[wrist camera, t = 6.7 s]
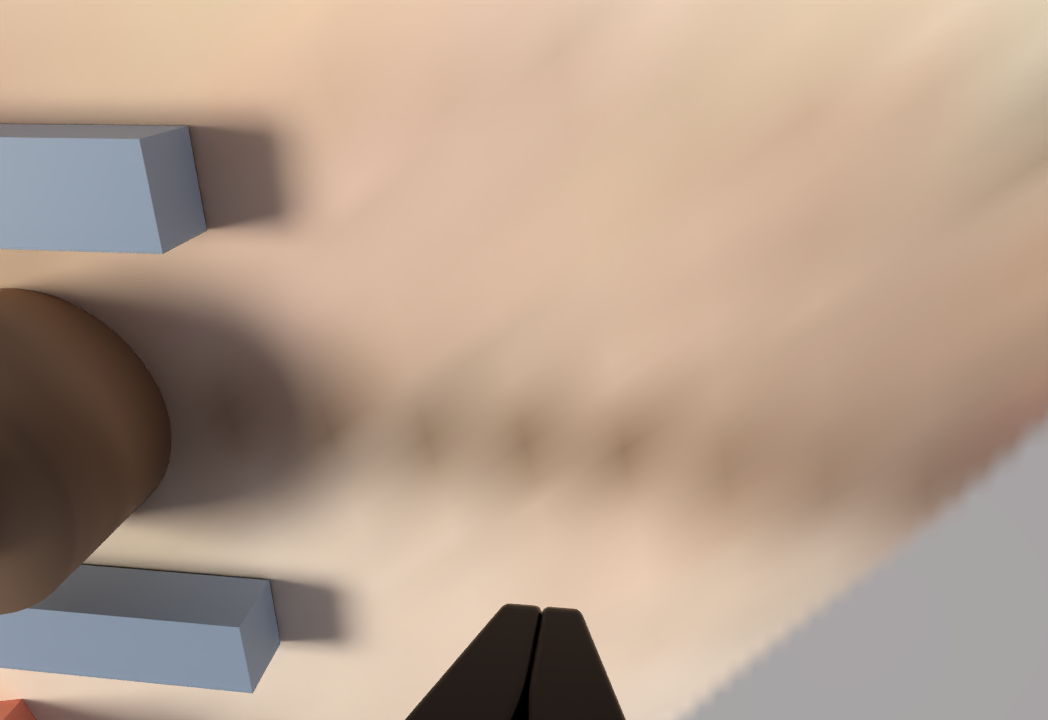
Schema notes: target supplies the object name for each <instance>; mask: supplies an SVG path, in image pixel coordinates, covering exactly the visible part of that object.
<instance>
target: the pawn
mask: <svg viewBox="0 0 1048 720" xmlns="http://www.w3.org/2000/svg"><path fill="white" fill-rule="evenodd" d="M170 452H171V429H170V421H169V417H168V413H167V409H166V406H165V403H164V401H163V398H162V395H161V393H160V391H159V389H158V387H157V385H156V383H155V381H154V379H153V377H152V375H151V374H150V372H149V371H148V370H147V368H146V367H145V365H144V364H143V362H142V361H141V359H140V358H139V357H138V356H137V355H136V354H135V352H134V351H133V350H132V349H131V348H130V346H129V345H128V344H127V343H126V342H124V341H123V340H122V339H121V338H120V337H119V336H118V335H117V334H116V333H115V332H114V331H113V330H111V329H110V328H109V327H108V326H106V325H105V324H104V323H103V322H101V321H100V320H98V319H97V318H95V317H94V316H92V315H91V314H89V313H88V312H86V311H84V310H82V309H80V308H78V307H77V306H75V305H73V304H71V303H69V302H66V301H64V300H61V299H59V298H56V297H53V296H51V295H47V294H43V293H39V292H35V291H29V290H22V289H0V615H3V614H8V613H14V612H18V611H21V610H24V609H27V608H30V607H32V606H34V605H35V604H37V603H39V602H41V601H43V600H44V599H45V598H47V597H48V596H49V595H50V594H52V593H53V592H54V591H55V590H56V589H57V588H58V587H59V586H60V585H61V584H62V583H63V582H64V581H65V580H66V579H67V578H68V577H69V576H70V575H71V574H72V573H73V572H74V571H75V570H76V569H77V568H78V567H79V566H80V565H81V564H82V563H83V562H84V561H85V560H86V559H87V558H88V557H89V556H90V555H91V554H92V553H93V552H94V551H95V550H96V549H97V548H98V547H99V546H100V545H101V544H102V543H103V542H104V541H105V540H106V539H107V538H108V537H109V536H110V535H111V534H112V533H113V532H114V531H115V530H116V529H117V528H118V527H119V526H120V525H121V524H122V523H123V522H124V521H125V520H126V519H127V518H128V517H129V516H130V515H131V514H132V513H133V512H134V511H135V510H136V509H137V508H138V507H139V506H140V505H141V504H142V503H143V502H144V501H145V500H146V499H147V498H148V497H149V496H150V494H151V493H152V492H153V491H154V490H155V489H156V487H157V486H158V485H159V483H160V481H161V480H162V478H163V476H164V474H165V471H166V469H167V466H168V463H169V458H170Z"/></svg>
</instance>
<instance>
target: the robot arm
mask: <svg viewBox="0 0 1048 720" xmlns="http://www.w3.org/2000/svg"><path fill="white" fill-rule="evenodd" d="M405 720H626V719H625V717H624V714H623V712H622V710H621V707H620V705H619V702H618V700H617V697H616V695H615V693H614V690H613V688H612V685H611V683H610V680H609V678H608V676H607V673H606V671H605V668H604V666H603V663H602V661H601V659H600V656H599V654H598V651H597V649H596V647H595V644H594V642H593V639H592V637H591V634H590V632H589V630H588V627H587V625H586V622H585V620H584V617H583V615H582V614H581V612H580V611H578V610H577V609H569V608H557V607H547V608H545V609H544V610H543V612H542V611H541V609H540V608H539V607H538V606H533V605H520V604H506V605H504V606H502V607H501V609H500V610H499V611H498V612H497V613H496V614H495V616H494V617H493V618H492V619H491V620H490V621H489V623H488V624H487V625H486V626H485V627H484V628H483V630H482V631H481V632H480V633H479V634H478V635H477V637H476V638H475V639H474V640H473V641H472V642H471V643H470V645H469V646H468V647H467V648H466V649H465V650H464V652H463V653H462V654H461V655H460V656H459V657H458V659H457V660H456V661H455V662H454V663H453V664H452V666H451V667H450V668H449V669H448V670H447V671H446V673H445V674H444V675H443V676H442V677H441V678H440V680H439V681H438V682H437V683H436V684H435V685H434V687H433V688H432V689H431V690H430V691H429V692H428V694H427V695H426V696H425V697H424V698H423V699H422V701H421V702H420V703H419V704H418V705H417V706H416V708H415V709H414V710H413V711H412V712H411V713H410V715H409V716H408V717H407V718H406V719H405Z"/></svg>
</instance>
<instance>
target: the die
mask: <svg viewBox="0 0 1048 720" xmlns="http://www.w3.org/2000/svg"><path fill="white" fill-rule="evenodd" d="M0 720H36V719H35V717H34V716H33V714H32V713H31V712H30V710H29V709H28V707H27V706H26V704H25V703H24V701H23V700H22V699H16V700H7V701H0Z"/></svg>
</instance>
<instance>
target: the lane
mask: <svg viewBox="0 0 1048 720" xmlns="http://www.w3.org/2000/svg"><path fill="white" fill-rule="evenodd" d="M205 231H207V229H206V224H205V218H204V212H203V207H202V201H201V196H200V190H199V184H198V179H197V173H196V168H195V162H194V156H193V151H192V145H191V140H190V134H189V128H188V126H176V125H77V124H0V249H21V250H53V251H86V252H118V253H150V254H163V253H165V252H167V251H169V250H171V249H173V248H175V247H177V246H178V245H180V244H182V243H184V242H186V241H188V240H190V239H192V238H194V237H195V236H197V235H199V234H201V233H203V232H205ZM279 645H280V638H279V633H278V627H277V621H276V616H275V610H274V605H273V599H272V593H271V588H270V582H269V580H261V579H249V578H236V577H224V576H212V575H200V574H188V573H176V572H164V571H152V570H140V569H128V568H116V567H103V566H91V565H80V566H79V567H78V568H77V569H76V570H75V571H74V572H73V573H72V574H71V575H70V576H69V577H68V578H67V579H66V580H65V581H64V582H63V583H62V584H61V585H60V586H59V587H58V588H57V589H56V590H55V591H54V592H53V593H52V594H50V595H49V596H48V597H47V598H45V599H44V600H43V601H41V602H39V603H37V604H35V605H34V606H32V607H30V608H27V609H24V610H21V611H18V612H14V613H8V614H3V615H0V668H8V669H18V670H28V671H38V672H48V673H58V674H68V675H78V676H88V677H97V678H107V679H117V680H127V681H137V682H147V683H157V684H167V685H177V686H187V687H196V688H206V689H216V690H226V691H236V692H246V693H253V692H254V690H255V688H256V686H257V684H258V683H259V681H260V679H261V677H262V675H263V674H264V672H265V670H266V668H267V666H268V664H269V663H270V661H271V659H272V657H273V655H274V654H275V652H276V650H277V648H278V646H279Z"/></svg>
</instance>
